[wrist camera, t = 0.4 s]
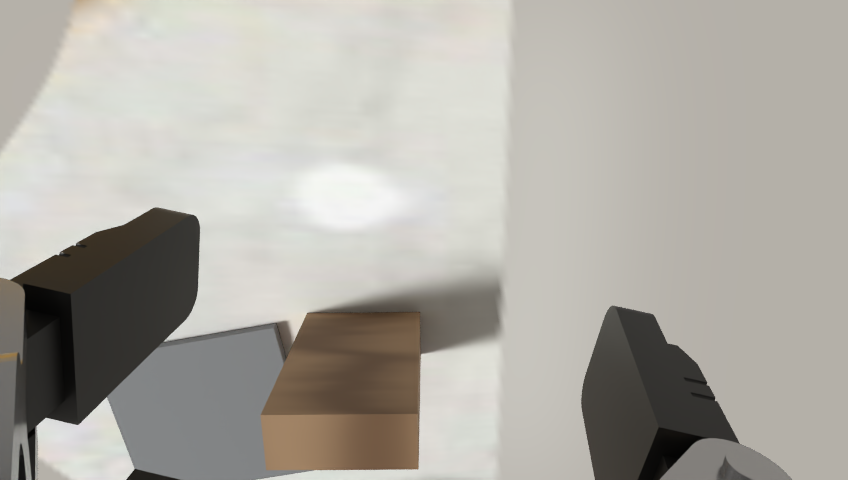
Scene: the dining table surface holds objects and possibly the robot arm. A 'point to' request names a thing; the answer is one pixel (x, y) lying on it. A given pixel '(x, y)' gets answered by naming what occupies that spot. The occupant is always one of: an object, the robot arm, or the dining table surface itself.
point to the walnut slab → (347, 395)
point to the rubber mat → (202, 406)
